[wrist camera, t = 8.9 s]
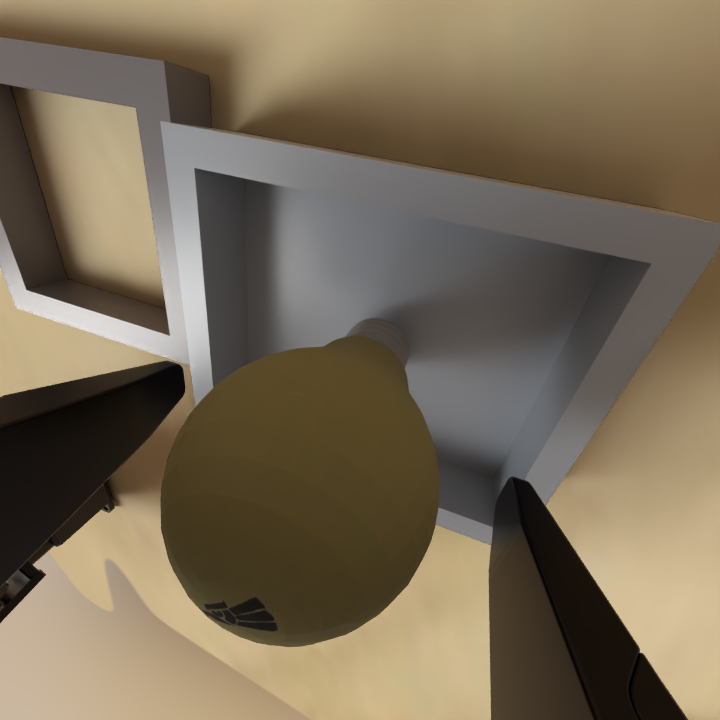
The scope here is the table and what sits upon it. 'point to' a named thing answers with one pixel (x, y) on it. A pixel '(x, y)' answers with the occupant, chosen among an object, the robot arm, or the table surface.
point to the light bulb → (303, 490)
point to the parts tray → (431, 292)
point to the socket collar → (28, 211)
